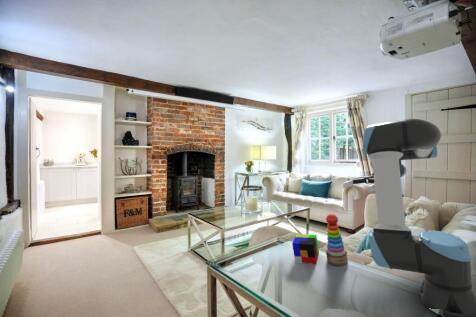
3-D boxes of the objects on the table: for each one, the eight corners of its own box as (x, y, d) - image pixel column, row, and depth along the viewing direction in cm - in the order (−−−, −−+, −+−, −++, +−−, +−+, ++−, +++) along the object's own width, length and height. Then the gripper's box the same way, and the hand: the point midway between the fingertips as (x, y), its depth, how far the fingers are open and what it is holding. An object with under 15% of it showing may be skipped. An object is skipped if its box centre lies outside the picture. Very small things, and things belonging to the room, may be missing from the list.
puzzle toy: (295, 262, 116) (292, 243, 115) (299, 251, 125) (296, 234, 124) (316, 264, 111) (313, 244, 110) (319, 253, 120) (316, 234, 119)
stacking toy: (347, 256, 106) (341, 217, 104) (329, 257, 108) (323, 218, 106) (343, 247, 114) (338, 210, 112) (326, 248, 115) (320, 212, 113)
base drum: (352, 262, 108) (350, 254, 107) (334, 268, 106) (333, 259, 105) (339, 253, 116) (338, 246, 116) (323, 258, 115) (322, 251, 114)
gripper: (410, 186, 110) (382, 199, 101) (361, 181, 133) (335, 191, 124) (408, 170, 110) (380, 182, 100) (359, 168, 132) (333, 177, 123)
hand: (355, 187), depth 112 cm, fingers open, 13 cm apart
